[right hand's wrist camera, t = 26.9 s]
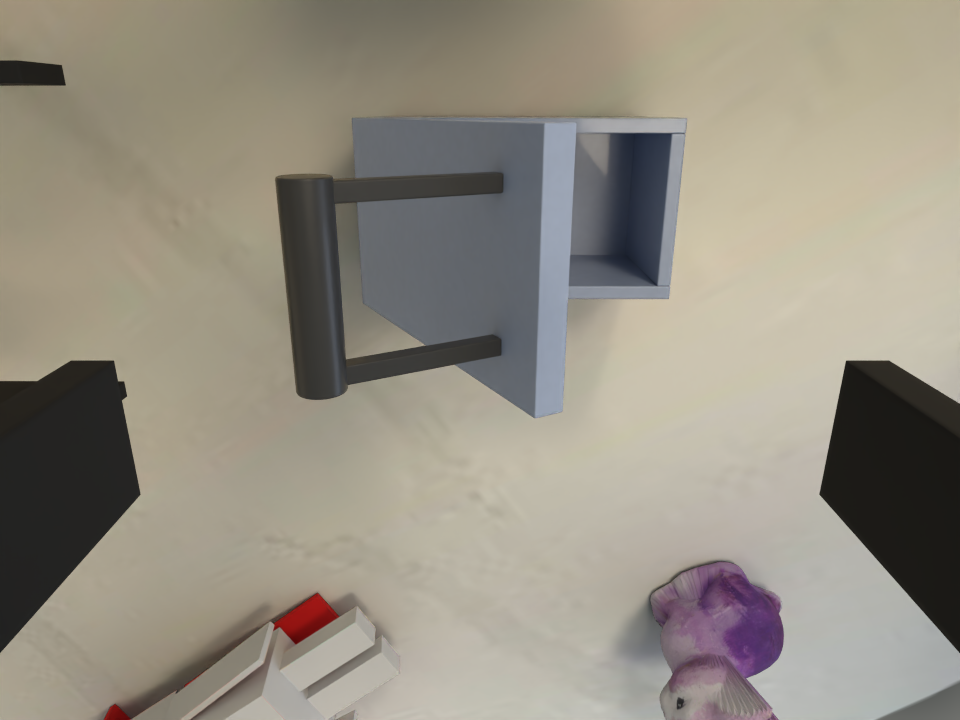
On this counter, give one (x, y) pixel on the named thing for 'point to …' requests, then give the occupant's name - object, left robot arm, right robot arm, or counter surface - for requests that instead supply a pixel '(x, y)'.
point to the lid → (439, 255)
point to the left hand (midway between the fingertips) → (81, 250)
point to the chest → (620, 203)
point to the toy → (287, 671)
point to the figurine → (716, 643)
